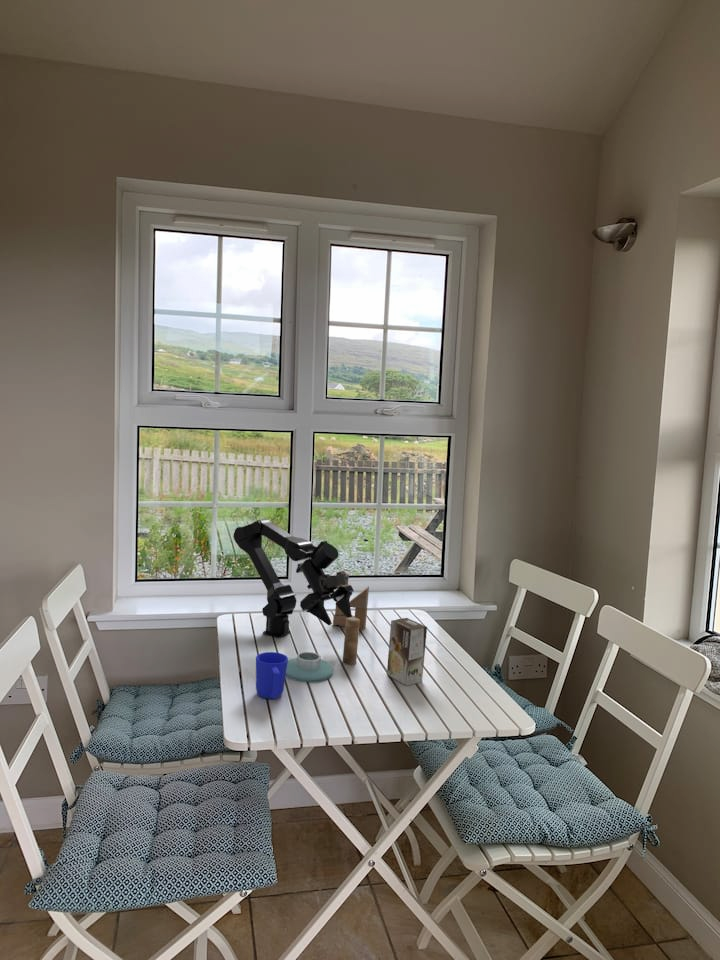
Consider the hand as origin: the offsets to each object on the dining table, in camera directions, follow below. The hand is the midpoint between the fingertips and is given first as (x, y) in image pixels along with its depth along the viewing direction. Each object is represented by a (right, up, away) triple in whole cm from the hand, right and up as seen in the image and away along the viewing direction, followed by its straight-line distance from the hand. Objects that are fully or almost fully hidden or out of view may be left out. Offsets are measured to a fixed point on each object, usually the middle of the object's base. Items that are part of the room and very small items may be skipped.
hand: (340, 621), depth 221 cm
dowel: (+3, -12, -1) cm, 12 cm away
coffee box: (+18, -14, -10) cm, 25 cm away
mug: (-17, -14, -30) cm, 37 cm away
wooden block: (+2, -8, +31) cm, 32 cm away
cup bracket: (-9, -12, -11) cm, 19 cm away
